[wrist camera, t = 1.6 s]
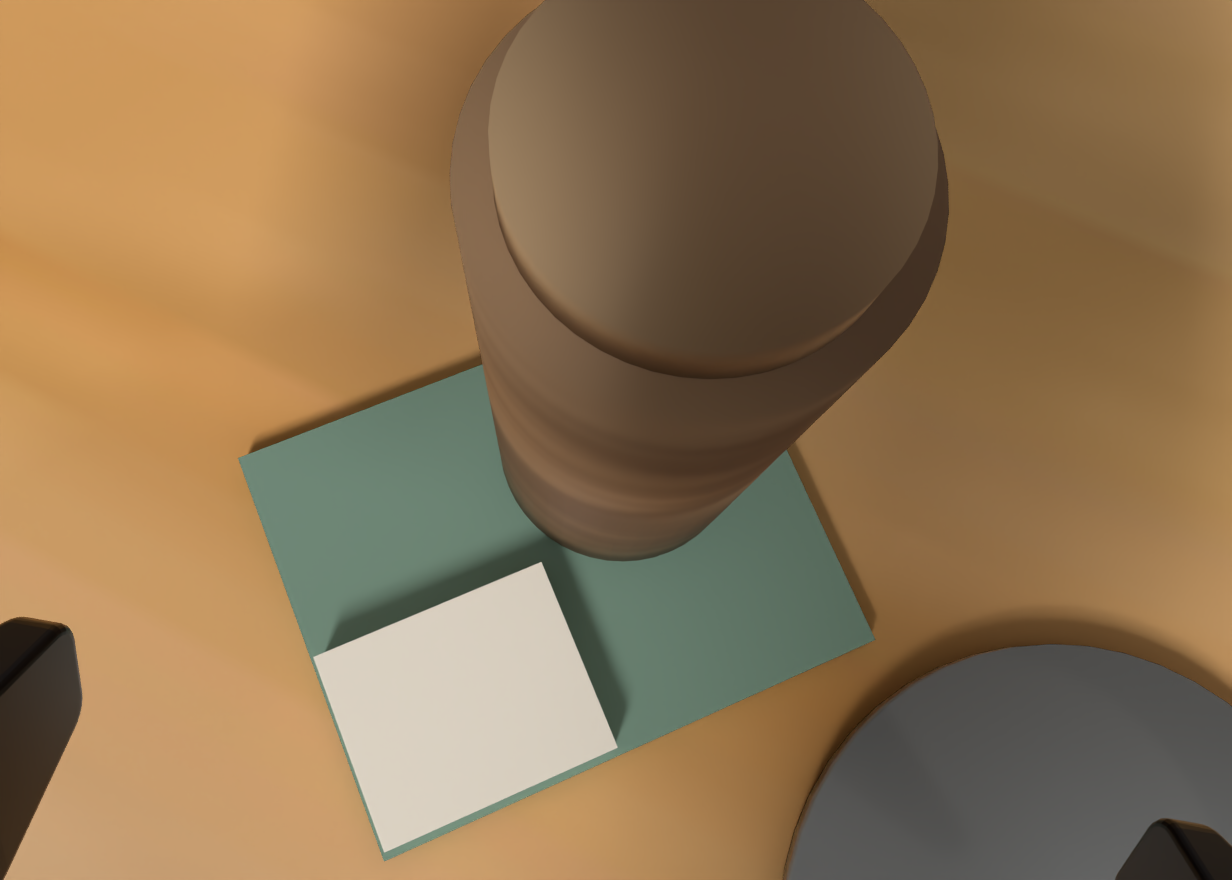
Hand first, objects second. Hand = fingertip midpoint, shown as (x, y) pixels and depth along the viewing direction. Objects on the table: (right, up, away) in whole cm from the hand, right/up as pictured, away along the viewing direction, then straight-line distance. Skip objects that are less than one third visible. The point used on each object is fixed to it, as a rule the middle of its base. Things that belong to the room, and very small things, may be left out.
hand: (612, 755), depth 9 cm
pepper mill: (0, +3, +12) cm, 13 cm away
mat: (-1, 0, +12) cm, 12 cm away
